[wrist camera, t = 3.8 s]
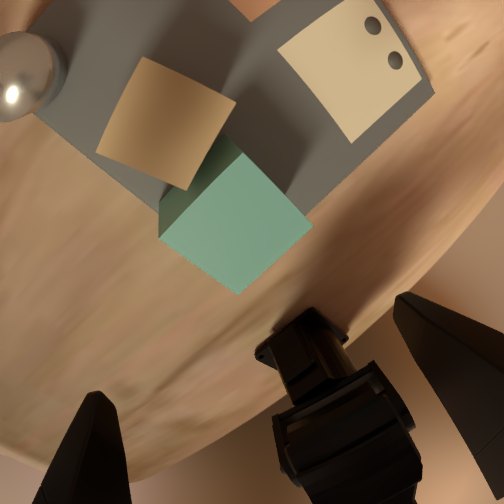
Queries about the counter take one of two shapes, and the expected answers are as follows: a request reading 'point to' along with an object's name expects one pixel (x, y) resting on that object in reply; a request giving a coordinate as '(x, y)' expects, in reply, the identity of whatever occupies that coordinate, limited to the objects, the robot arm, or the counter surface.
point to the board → (244, 80)
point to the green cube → (230, 218)
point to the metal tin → (29, 73)
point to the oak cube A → (164, 124)
